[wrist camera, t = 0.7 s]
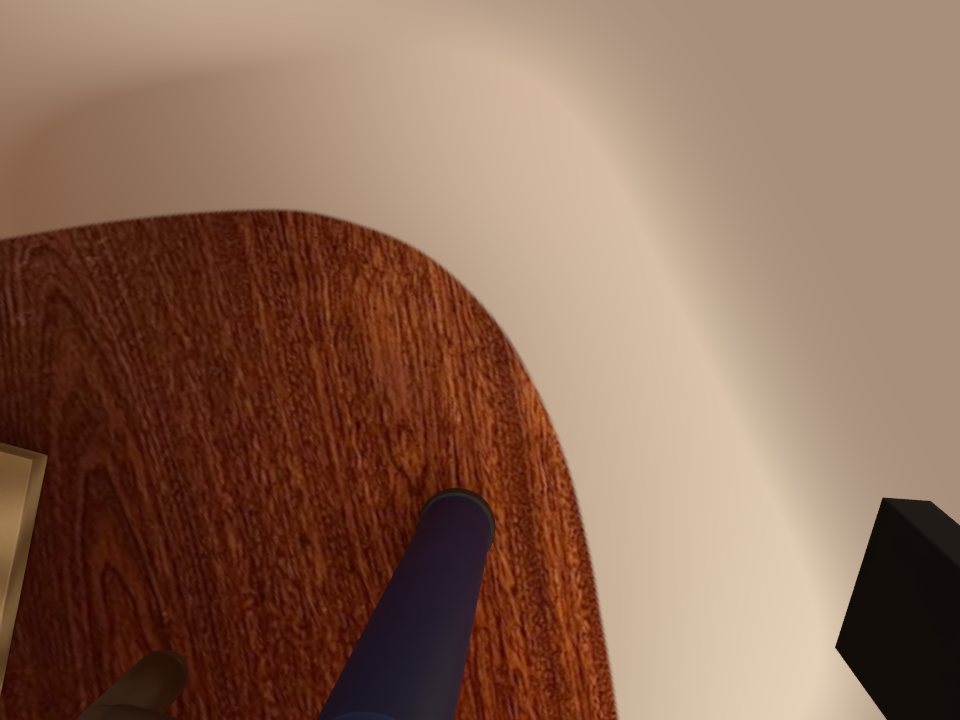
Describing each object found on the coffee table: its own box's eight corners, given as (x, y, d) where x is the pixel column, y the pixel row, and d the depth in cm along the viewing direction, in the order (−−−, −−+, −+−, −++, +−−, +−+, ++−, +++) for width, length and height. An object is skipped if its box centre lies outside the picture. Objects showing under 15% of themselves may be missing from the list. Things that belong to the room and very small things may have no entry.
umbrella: (503, 499, 45) (457, 771, 19) (484, 570, 45) (415, 931, 19) (338, 455, 45) (74, 662, 19) (321, 526, 45) (41, 820, 20)
